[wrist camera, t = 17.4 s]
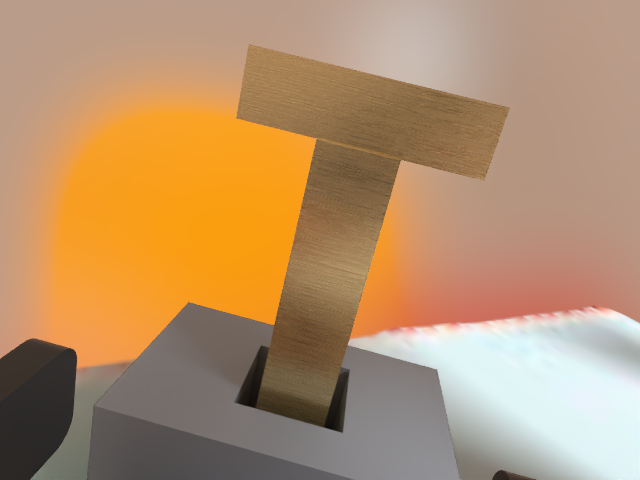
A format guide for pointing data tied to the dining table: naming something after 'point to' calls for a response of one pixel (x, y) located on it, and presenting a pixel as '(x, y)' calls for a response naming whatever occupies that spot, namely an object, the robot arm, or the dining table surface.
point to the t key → (346, 199)
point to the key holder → (263, 414)
